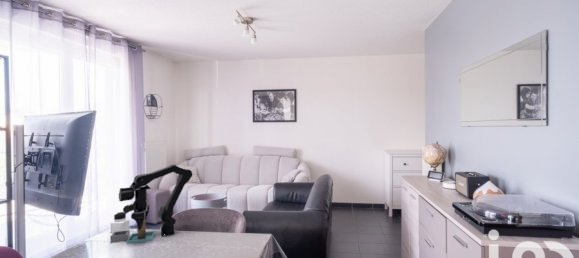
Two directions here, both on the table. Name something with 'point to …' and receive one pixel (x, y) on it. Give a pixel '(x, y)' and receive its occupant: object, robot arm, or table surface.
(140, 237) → the walnut dowel
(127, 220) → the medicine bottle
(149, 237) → the tray
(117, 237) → the grey square open box
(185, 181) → the robot arm
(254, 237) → the table surface
